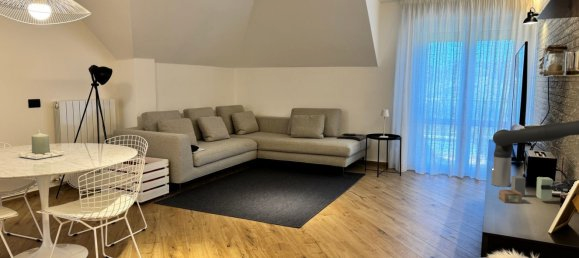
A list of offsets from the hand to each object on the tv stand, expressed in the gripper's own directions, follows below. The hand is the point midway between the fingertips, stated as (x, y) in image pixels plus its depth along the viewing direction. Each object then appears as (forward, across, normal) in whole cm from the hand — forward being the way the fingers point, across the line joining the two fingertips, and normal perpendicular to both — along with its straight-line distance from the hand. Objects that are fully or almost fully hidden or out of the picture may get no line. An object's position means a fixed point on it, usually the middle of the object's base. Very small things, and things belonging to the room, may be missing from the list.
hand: (538, 185), depth 200 cm
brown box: (+13, -1, +8) cm, 16 cm away
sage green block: (-3, 0, +6) cm, 7 cm away
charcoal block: (+5, -12, +8) cm, 15 cm away
